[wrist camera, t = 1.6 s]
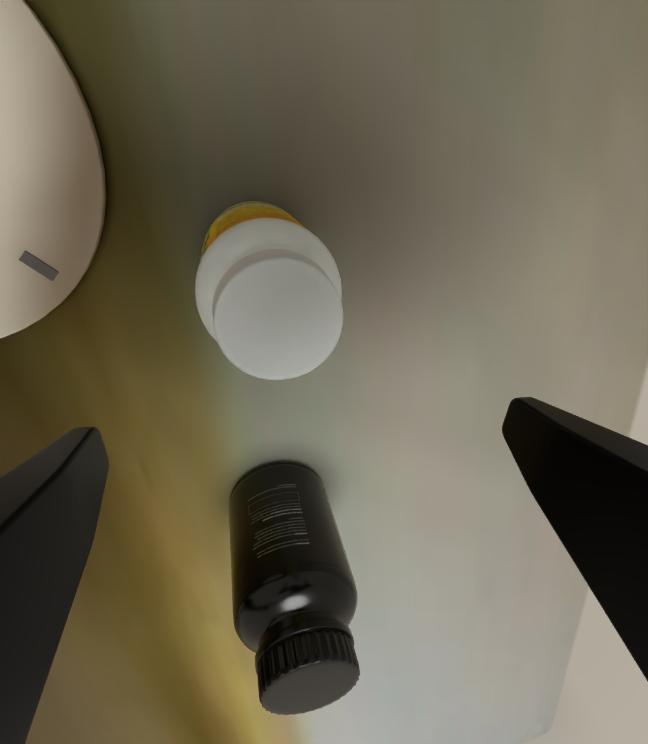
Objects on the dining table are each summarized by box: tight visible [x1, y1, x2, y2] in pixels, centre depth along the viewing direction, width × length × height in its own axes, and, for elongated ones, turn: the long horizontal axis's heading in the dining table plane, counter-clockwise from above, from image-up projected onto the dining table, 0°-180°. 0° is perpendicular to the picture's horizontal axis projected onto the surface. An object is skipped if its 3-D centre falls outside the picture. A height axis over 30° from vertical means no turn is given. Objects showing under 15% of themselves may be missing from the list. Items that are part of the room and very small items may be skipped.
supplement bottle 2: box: [229, 464, 360, 715], centre depth 23 cm, size 7×7×12 cm
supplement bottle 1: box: [195, 201, 343, 380], centre depth 16 cm, size 5×5×10 cm
